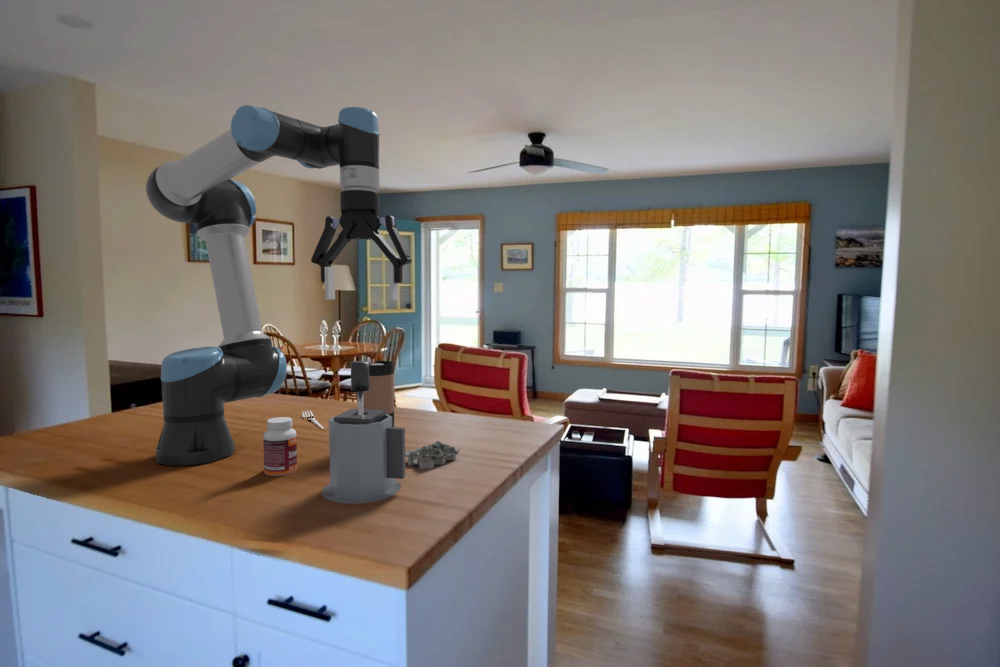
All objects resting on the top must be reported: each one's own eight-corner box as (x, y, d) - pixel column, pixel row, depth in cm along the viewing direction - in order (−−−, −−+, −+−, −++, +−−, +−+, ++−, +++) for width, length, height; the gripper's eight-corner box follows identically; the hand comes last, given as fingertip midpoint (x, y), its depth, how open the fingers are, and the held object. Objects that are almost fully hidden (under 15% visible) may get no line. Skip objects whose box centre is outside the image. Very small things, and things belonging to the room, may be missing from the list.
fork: (319, 435, 140) (319, 428, 139) (300, 417, 156) (300, 411, 156) (332, 433, 141) (332, 426, 141) (312, 416, 158) (312, 409, 158)
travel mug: (386, 454, 122) (385, 365, 120) (355, 452, 123) (353, 364, 121) (399, 444, 129) (399, 361, 127) (369, 442, 131) (368, 360, 129)
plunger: (330, 480, 96) (328, 364, 94) (351, 465, 104) (349, 358, 102) (373, 483, 94) (371, 366, 92) (390, 468, 102) (389, 359, 100)
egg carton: (424, 476, 109) (424, 456, 108) (401, 467, 114) (400, 448, 113) (462, 463, 117) (462, 444, 116) (439, 455, 122) (438, 437, 121)
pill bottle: (295, 478, 106) (293, 422, 105) (261, 480, 105) (259, 424, 104) (299, 467, 112) (298, 415, 111) (267, 469, 111) (265, 416, 110)
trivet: (306, 504, 94) (306, 499, 94) (344, 476, 107) (343, 472, 107) (383, 510, 91) (383, 506, 91) (411, 481, 105) (411, 477, 105)
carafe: (322, 496, 95) (320, 418, 94) (348, 476, 105) (347, 406, 104) (393, 502, 93) (392, 422, 91) (413, 481, 103) (413, 409, 101)
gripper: (291, 189, 106) (294, 299, 107) (414, 186, 101) (414, 300, 103) (311, 196, 113) (314, 298, 115) (426, 193, 108) (427, 299, 110)
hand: (361, 299), depth 109 cm, fingers open, 13 cm apart
